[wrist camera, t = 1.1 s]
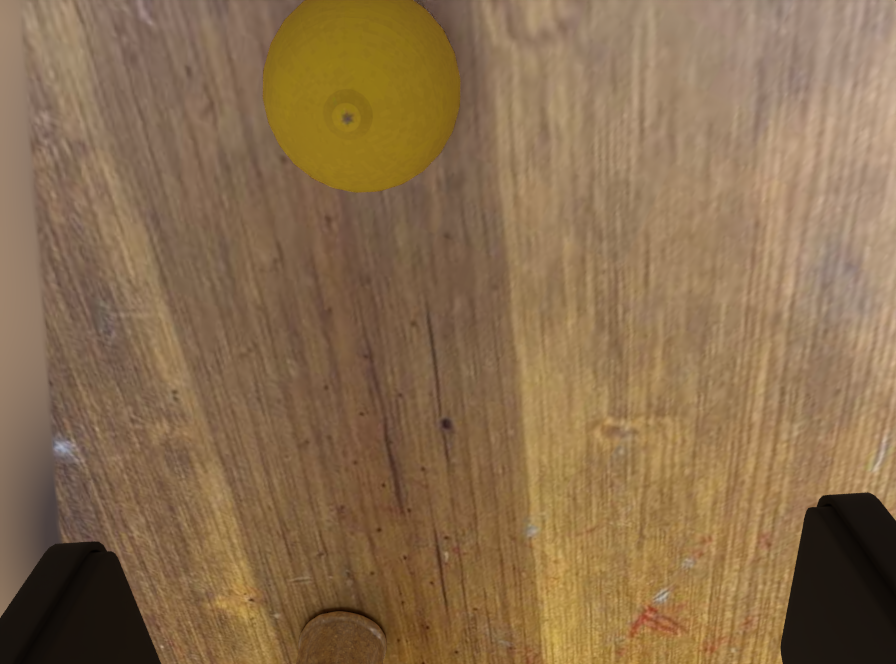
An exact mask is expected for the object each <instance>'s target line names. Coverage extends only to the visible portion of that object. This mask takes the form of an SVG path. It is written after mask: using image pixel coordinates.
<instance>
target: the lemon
mask: <svg viewBox="0 0 896 664" xmlns="http://www.w3.org/2000/svg"><path fill="white" fill-rule="evenodd" d="M263 101H264V105H265V110H266V114H267V118H268V123H269V125H270V127H271V129H272V131H273V133H274V135H275V137H276V139H277V141H278V143H279V145H280V147H281V148H282V149H283V151H284V152H285V153H286V154H287V156H288V157H289V158H290V159H291V160H292V162H293V163H294V164H295V165H296V166H297V167H299V168H300V169H301V170H303V171H304V172H305V173H306V174H308V175H309V176H310V177H312V178H313V179H315V180H317V181H319V182H322V183H324V184H326V185H328V186H330V187H332V188H336V189H341V190H346V191H351V192H376V191H382V190H385V189H388V188H392V187H395V186H398V185H401V184H403V183H405V182H407V181H408V180H410V179H412V178H413V177H415V176H416V175H418V174H420V173H421V172H423V171H424V170H425V169H426V168H427V167H428V166H429V165H430V164H431V162H432V161H433V160H434V159H435V158H436V157H437V156H438V155H439V154H440V153H441V151H442V149H443V148H444V146H445V144H446V142H447V140H448V139H449V137H450V135H451V133H452V132H453V129H454V125H455V121H456V118H457V114H458V110H459V107H460V75H459V71H458V66H457V62H456V57H455V53H454V51H453V49H452V47H451V45H450V43H449V41H448V39H447V37H446V35H445V33H444V30H443V29H442V28H441V26H440V25H439V24H438V23H437V22H436V21H435V19H434V18H433V17H432V16H431V15H430V14H429V12H428V11H427V10H426V9H425V8H423V7H422V6H420V5H419V4H418V3H416V2H415V1H413V0H305V1H303V2H302V3H301V4H300V5H299V6H298V7H297V8H296V9H295V10H294V11H293V12H292V13H291V14H290V15H289V16H288V17H287V18H286V19H285V20H284V22H283V23H282V25H281V27H280V29H279V30H278V32H277V34H276V35H275V37H274V39H273V41H272V42H271V45H270V48H269V52H268V55H267V59H266V63H265V66H264V70H263Z"/></svg>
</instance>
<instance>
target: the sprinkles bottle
mask: <svg viewBox="0 0 896 664" xmlns="http://www.w3.org/2000/svg"><path fill="white" fill-rule="evenodd" d="M386 644H387V642H386V638H385V635H384V633H383V632H382V630H381V628H380V627H379V626H378V625H377V624H376V623H375V622H373V621H371V620H370V619H368V618H366V617H364V616H362V615H359V614H354V613H351V612H343V611H336V612H330V613H325V614H321V615H318V616H317V617H315V618H314V619H312V620H311V621H309V623H307V624H306V626H305V628H304V629H303V631H302V632H301V634H300V637H299V653H298V658H297V664H383V659H384V657H385V654H386Z"/></svg>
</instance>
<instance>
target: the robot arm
mask: <svg viewBox="0 0 896 664" xmlns="http://www.w3.org/2000/svg"><path fill="white" fill-rule="evenodd" d="M781 656H782V662H783V664H896V521H895V519H894V518H893V517H892V516H891V514H890V513H889V512H888V510H887V509H886V508H885V507H884V505H883V504H882V503H881V502H880V500H879V499H878V498H877V497H876V496H875V495H873V494H871V493H853V494H837V495H825V496H822V497H821V498H820V499H819V502H818V505H817V507H811V508H808V510H807V511H806V514H805V518H804V523H803V529H802V534H801V539H800V544H799V550H798V555H797V560H796V566H795V571H794V576H793V582H792V587H791V592H790V598H789V603H788V608H787V613H786V619H785V624H784V629H783V635H782V640H781ZM0 664H161V662H160V660H159V658H158V655H157V653H156V650H155V648H154V645H153V643H152V640H151V638H150V635H149V633H148V631H147V628H146V626H145V623H144V621H143V618H142V616H141V613H140V611H139V608H138V606H137V604H136V601H135V599H134V596H133V594H132V591H131V589H130V586H129V584H128V581H127V579H126V577H125V574H124V572H123V569H122V567H121V564H120V562H119V559H118V557H117V556H116V554H115V553H114V552H112V551H108V552H107V550H106V549H105V547H104V545H103V544H101V543H100V542H79V543H63V544H55V545H53V546H51V547H50V548H49V549H48V550H47V551H46V552H45V553H44V555H43V556H42V558H41V559H40V561H39V562H38V564H37V565H36V566H35V568H34V569H33V571H32V572H31V574H30V575H29V577H28V578H27V580H26V581H25V583H24V584H23V585H22V587H21V588H20V590H19V591H18V593H17V594H16V596H15V597H14V599H13V600H12V602H11V603H10V604H9V606H8V608H7V609H6V610H5V612H4V613H3V615H2V616H1V618H0Z"/></svg>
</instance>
